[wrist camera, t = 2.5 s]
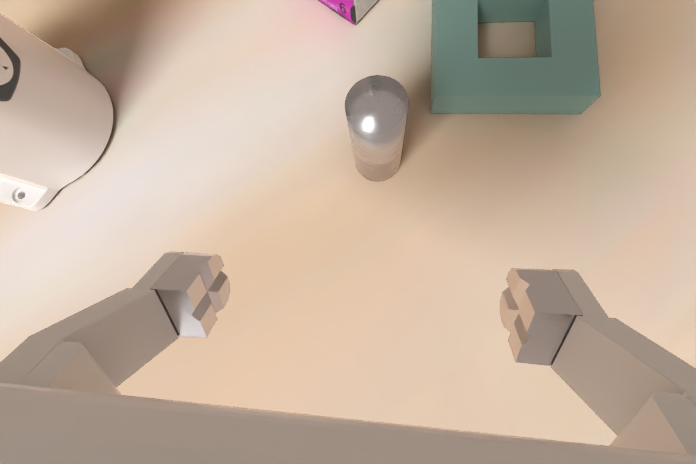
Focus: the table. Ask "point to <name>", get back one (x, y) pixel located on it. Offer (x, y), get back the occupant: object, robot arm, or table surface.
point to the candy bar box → (350, 8)
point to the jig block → (514, 59)
